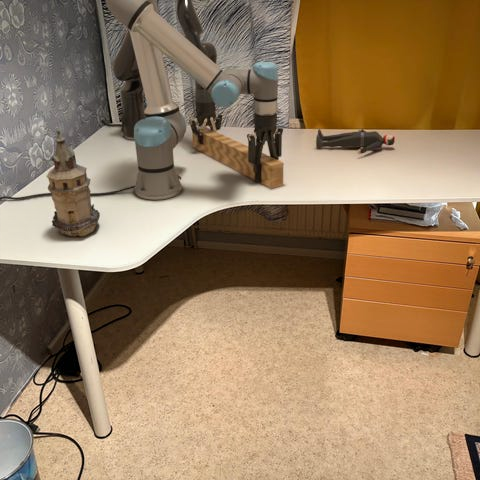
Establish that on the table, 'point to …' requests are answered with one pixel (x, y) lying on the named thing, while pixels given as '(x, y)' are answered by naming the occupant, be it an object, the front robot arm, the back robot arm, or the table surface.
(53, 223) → the miniature building
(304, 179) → the table surface
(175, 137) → the front robot arm
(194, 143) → the post
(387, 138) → the toy
